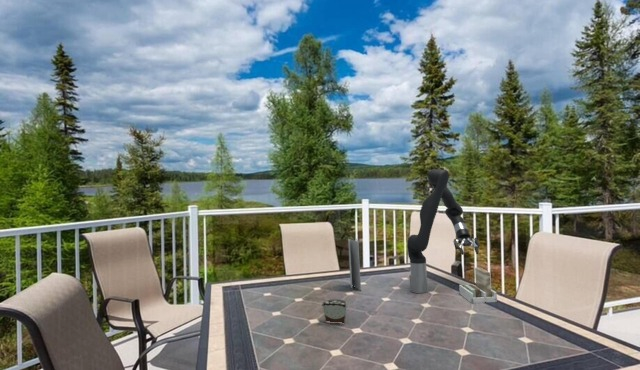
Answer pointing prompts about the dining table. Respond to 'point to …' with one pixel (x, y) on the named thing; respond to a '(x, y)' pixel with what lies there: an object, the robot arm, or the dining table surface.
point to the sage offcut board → (471, 290)
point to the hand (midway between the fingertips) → (470, 253)
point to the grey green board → (483, 281)
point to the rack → (481, 299)
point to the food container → (335, 310)
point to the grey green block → (476, 291)
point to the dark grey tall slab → (354, 263)
